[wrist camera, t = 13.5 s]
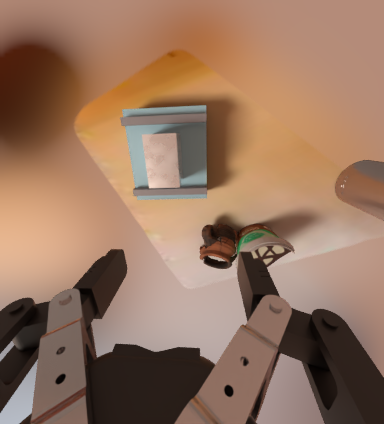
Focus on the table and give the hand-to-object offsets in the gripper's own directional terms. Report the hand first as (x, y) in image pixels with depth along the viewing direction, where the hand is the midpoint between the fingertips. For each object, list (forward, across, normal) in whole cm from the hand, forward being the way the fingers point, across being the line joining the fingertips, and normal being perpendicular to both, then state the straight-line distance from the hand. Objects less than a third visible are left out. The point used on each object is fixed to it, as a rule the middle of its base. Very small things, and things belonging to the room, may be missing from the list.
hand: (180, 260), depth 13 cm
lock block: (+24, +5, -4) cm, 25 cm away
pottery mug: (+30, -4, +16) cm, 34 cm away
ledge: (+29, +5, -4) cm, 30 cm away
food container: (+30, -12, +14) cm, 35 cm away
